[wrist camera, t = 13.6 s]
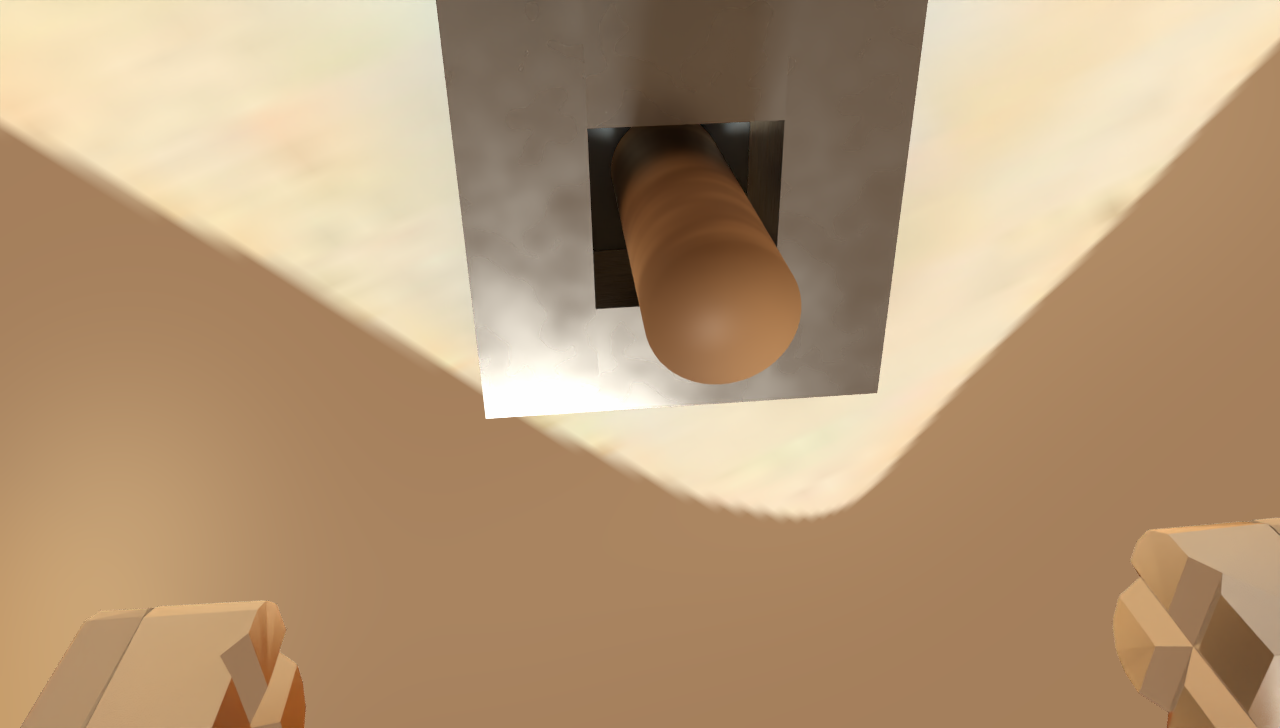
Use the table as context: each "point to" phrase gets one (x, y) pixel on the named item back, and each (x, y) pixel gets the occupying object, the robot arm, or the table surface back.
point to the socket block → (674, 95)
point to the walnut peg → (700, 258)
